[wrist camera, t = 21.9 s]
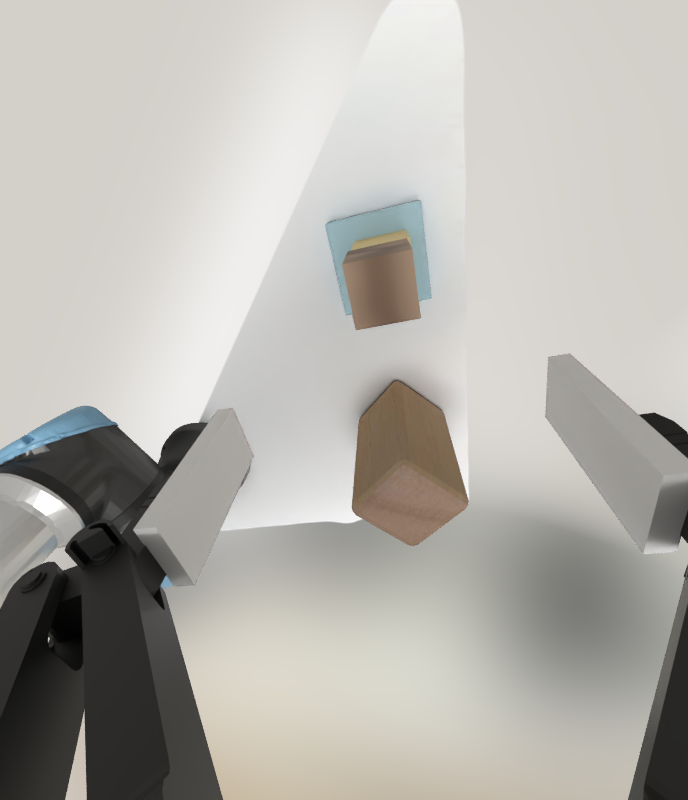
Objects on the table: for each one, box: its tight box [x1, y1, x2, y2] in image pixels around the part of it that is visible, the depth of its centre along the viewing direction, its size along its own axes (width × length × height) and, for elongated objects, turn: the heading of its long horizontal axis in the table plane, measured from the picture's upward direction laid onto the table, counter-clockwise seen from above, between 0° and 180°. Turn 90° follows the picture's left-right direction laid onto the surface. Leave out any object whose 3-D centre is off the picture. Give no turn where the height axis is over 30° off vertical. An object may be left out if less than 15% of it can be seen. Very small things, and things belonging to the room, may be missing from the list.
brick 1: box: [351, 230, 411, 250], centre depth 41 cm, size 6×6×7 cm
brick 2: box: [342, 238, 421, 330], centre depth 36 cm, size 6×6×7 cm
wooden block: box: [352, 381, 468, 546], centre depth 50 cm, size 10×10×20 cm
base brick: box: [326, 200, 431, 315], centre depth 46 cm, size 11×11×3 cm
